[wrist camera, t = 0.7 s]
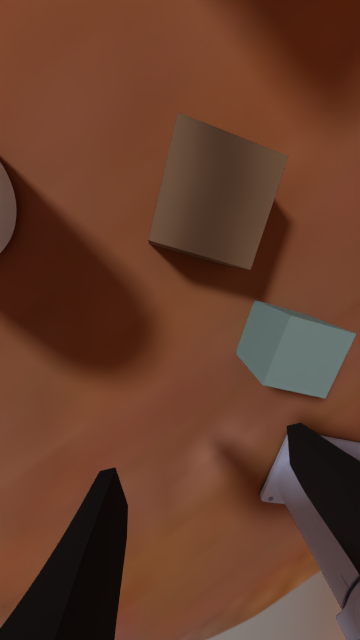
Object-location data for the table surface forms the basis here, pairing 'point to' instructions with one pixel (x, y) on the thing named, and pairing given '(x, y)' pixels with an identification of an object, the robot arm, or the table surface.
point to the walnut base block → (215, 194)
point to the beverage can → (6, 209)
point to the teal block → (293, 349)
